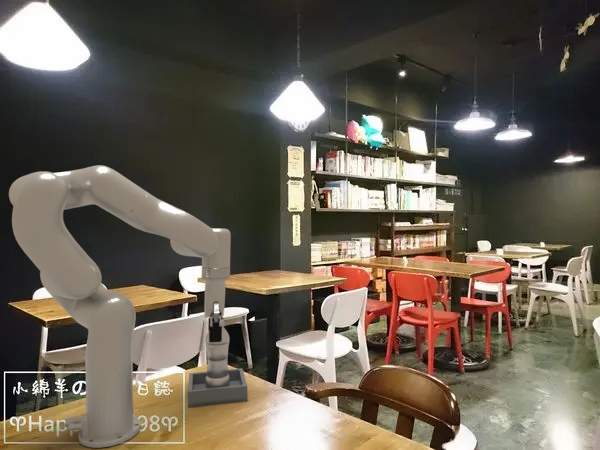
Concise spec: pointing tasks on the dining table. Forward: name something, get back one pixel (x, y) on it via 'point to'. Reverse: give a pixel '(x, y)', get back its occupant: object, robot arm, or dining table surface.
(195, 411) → the dining table surface
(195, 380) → the grey bin
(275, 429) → the dining table surface
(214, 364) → the plastic bottle
